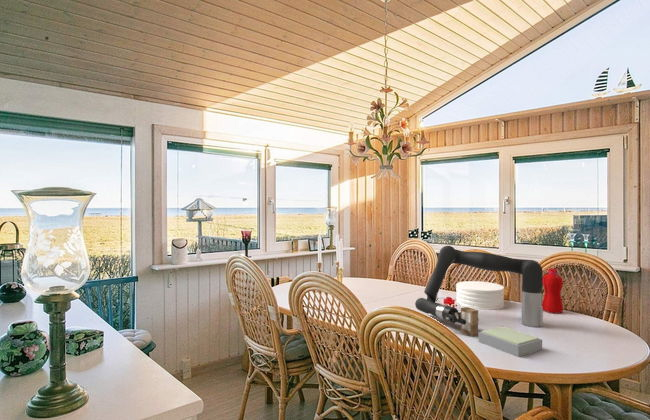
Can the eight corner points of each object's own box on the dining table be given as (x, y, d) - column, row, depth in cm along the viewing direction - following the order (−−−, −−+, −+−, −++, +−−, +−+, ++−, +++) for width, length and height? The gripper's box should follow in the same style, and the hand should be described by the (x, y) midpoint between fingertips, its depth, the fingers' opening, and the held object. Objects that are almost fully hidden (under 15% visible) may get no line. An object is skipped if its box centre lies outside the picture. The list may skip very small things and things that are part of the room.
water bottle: (552, 315, 220) (553, 270, 219) (539, 309, 231) (539, 267, 230) (567, 314, 221) (568, 270, 221) (554, 309, 232) (554, 267, 232)
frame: (478, 335, 187) (478, 310, 187) (472, 336, 185) (472, 311, 185) (466, 330, 194) (466, 306, 193) (460, 332, 192) (460, 308, 191)
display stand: (542, 349, 168) (542, 338, 168) (518, 356, 161) (518, 344, 161) (501, 335, 186) (501, 325, 186) (478, 341, 178) (478, 330, 178)
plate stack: (489, 312, 226) (489, 292, 226) (447, 302, 248) (447, 285, 248) (512, 304, 244) (512, 286, 244) (471, 296, 266) (471, 279, 265)
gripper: (436, 307, 199) (461, 315, 185) (456, 303, 206) (482, 311, 191) (436, 322, 199) (461, 331, 185) (456, 318, 206) (482, 326, 191)
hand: (471, 321), depth 188 cm, fingers open, 8 cm apart
